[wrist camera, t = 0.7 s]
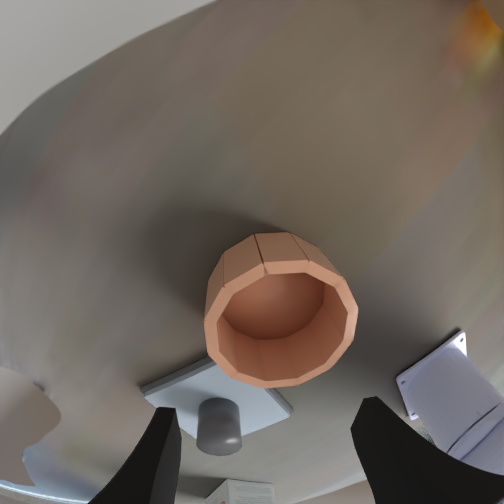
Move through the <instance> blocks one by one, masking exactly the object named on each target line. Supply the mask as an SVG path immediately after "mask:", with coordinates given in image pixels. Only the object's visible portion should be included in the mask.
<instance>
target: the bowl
mask: <svg viewBox="0 0 504 504" xmlns="http://www.w3.org/2000/svg"><path fill="white" fill-rule="evenodd" d="M358 310H359V309H358V306H357V304H356V302H355V300H354V298H353V296H352V293H351V291H350V289H349V287H348V285H347V283H346V281H345V279H344V278H343V277H342V275H341V274H340V273H339V272H338V271H337V270H336V268H335V267H334V266H333V265H332V264H331V262H330V261H329V260H328V259H327V258H326V257H325V255H324V254H323V253H322V252H321V251H320V250H319V249H318V248H317V247H316V246H314V245H312V244H310V243H308V242H307V241H305V240H303V239H301V238H299V237H297V236H295V235H294V234H292V233H289V232H282V233H257V234H255V236H254V234H253V235H251V236H249V237H248V238H246V239H244V240H243V241H241V242H239V243H238V244H236V245H234V246H233V247H231V248H229V249H228V250H226V251H224V253H223V254H222V256H221V258H220V260H219V261H218V263H217V265H216V267H215V269H214V271H213V273H212V274H211V276H210V278H209V280H208V287H207V296H206V305H205V314H204V328H205V336H206V344H207V352H208V355H209V356H210V357H211V358H212V359H213V360H214V361H215V362H216V364H217V365H218V366H219V367H220V368H221V369H222V370H223V371H224V372H225V373H226V374H227V375H228V376H229V377H231V379H234V380H237V381H240V382H243V383H247V384H250V385H253V386H256V387H259V388H263V387H264V389H265V388H276V387H286V386H295V385H298V383H299V384H302V383H304V382H306V381H308V380H310V379H312V378H314V377H316V376H318V375H319V374H321V373H323V372H325V371H327V370H329V369H330V367H331V368H332V367H333V365H334V364H335V363H336V362H337V360H338V359H339V358H340V357H341V356H342V354H343V353H344V352H345V351H346V349H347V348H348V347H349V346H350V344H351V343H352V341H353V338H354V333H355V327H356V322H357V316H358Z"/></svg>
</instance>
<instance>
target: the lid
mask: <svg viewBox="0 0 504 504" xmlns="http://www.w3.org/2000/svg"><path fill="white" fill-rule="evenodd" d="M144 398H145V399H147V400H148V401H149V402H150V403H151V404H152V405H154V406H155V407H156V408H158V407H171V408H176V413H177V418H178V423H179V426H180V427H181V428H182V429H183V430H185V431H186V432H187V433H189V434H190V435H191V436H193V437H194V438H196V439H197V443H196V444H197V447H198V448H199V449H200V450H201V451H202V452H204V453H207V454H210V455H216V456H225V455H230V454H233V453H236V452H237V451H239V450H240V449H241V447H242V439H241V436H243V435H246V434H249V433H251V432H254V431H256V430H259V429H262V428H264V427H267V426H269V425H271V424H274V423H276V422H279V421H281V420H283V419H286V418H288V417H290V413H289V411H288V410H287V409H286V408H285V406H284V405H283V404H282V403H281V402H280V401H279V400H278V399H277V398H276V397H275V396H274V395H273V394H272V393H271V392H270V390H269V389H268V388H265V389H264V387H263V388H259V387H256V386H253V385H250V384H247V383H243V382H240V381H237V380H234V379H231V377H229V376H228V375H227V374H226V373H225V372H224V371H223V370H222V369H221V368H220V367H219V366H218V365H217V364H216V362H215V361H212V362H210V363H208V364H206V365H204V366H202V367H200V368H198V369H195V370H193V371H191V372H189V373H187V374H185V375H183V376H180V377H178V378H176V379H174V380H172V381H169V382H167V383H165V384H163V385H160V386H158V387H156V388H153V389H151V390H149V391H146V392H145V395H144Z"/></svg>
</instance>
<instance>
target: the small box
mask: <svg viewBox="0 0 504 504" xmlns="http://www.w3.org/2000/svg"><path fill="white" fill-rule="evenodd" d="M206 504H276V500H275V494H274V488H273V484H270V483H257V482H248V481H240V480H232V479H226V480H225V481H224V482H223V483H222V484H221V485H220V486H219V487H218V488H217V489H216V490H215V491H214V492H213V493H212V494H211V495H210V496H209V497H207V498H206Z"/></svg>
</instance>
